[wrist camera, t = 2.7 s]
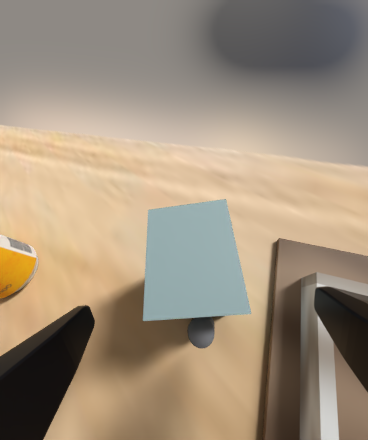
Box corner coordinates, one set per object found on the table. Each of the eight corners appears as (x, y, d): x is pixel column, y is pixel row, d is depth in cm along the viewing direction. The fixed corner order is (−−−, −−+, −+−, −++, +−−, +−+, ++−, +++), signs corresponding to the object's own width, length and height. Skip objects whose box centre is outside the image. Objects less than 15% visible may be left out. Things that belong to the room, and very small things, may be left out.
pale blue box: (232, 329, 14) (260, 356, 5) (184, 332, 15) (140, 361, 6) (220, 256, 17) (225, 199, 8) (180, 260, 18) (148, 209, 9)
